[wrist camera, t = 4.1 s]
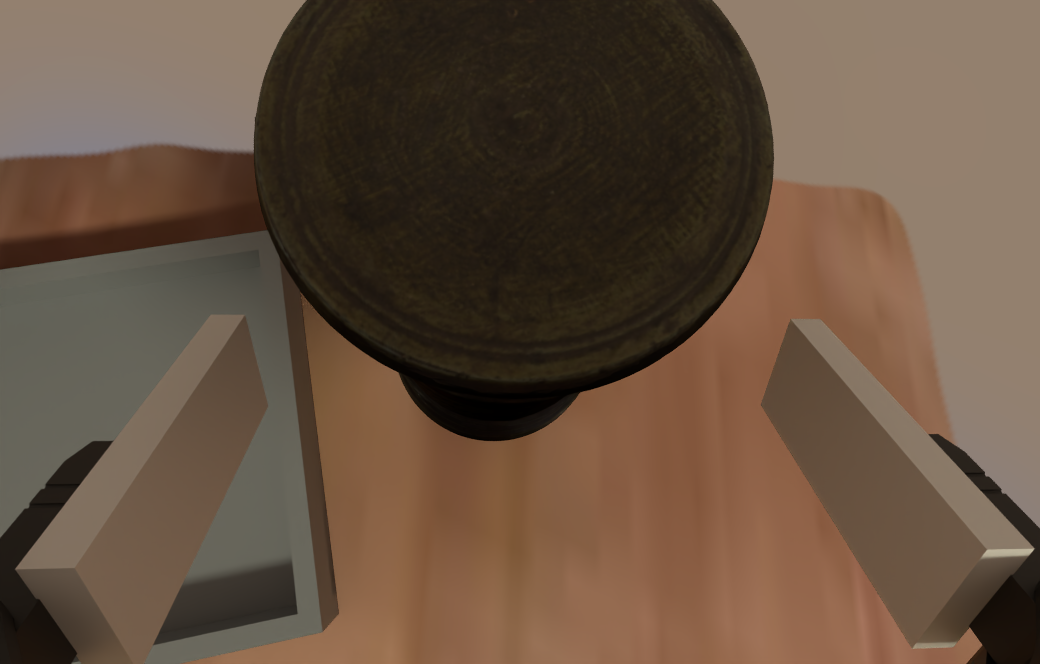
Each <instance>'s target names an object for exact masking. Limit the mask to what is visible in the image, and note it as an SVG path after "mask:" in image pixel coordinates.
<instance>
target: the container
mask: <svg viewBox="0 0 1040 664" xmlns="http://www.w3.org/2000/svg"><path fill="white" fill-rule="evenodd" d="M773 152H774V151H773V136H772V128H771V121H770V116H769V111H768V104H767V101H766V97H765V93H764V90H763V87H762V84H761V81H760V78H759V76H758V73H757V71H756V68H755V65H754V63H753V61H752V59H751V57H750V55H749V53H748V51H747V49H746V47H745V45H744V43H743V42H742V40H741V38H740V37H739V35H738V33H737V32H736V30H735V29H734V28H733V26H732V25H731V23H730V22H729V20H728V19H727V18H726V17H725V15H724V14H723V13H722V11H721V10H720V9H719V7H718V6H717V5H716V4H715V3H714V2H713V1H712V0H307V1H306V2H305V3H304V4H303V5H302V7H301V8H300V9H299V10H298V12H297V13H296V14H295V16H294V17H293V19H292V20H291V22H290V24H289V25H288V26H287V28H286V30H285V31H284V33H283V35H282V37H281V39H280V40H279V42H278V44H277V47H276V49H275V51H274V53H273V55H272V57H271V60H270V63H269V65H268V68H267V70H266V73H265V76H264V80H263V83H262V87H261V92H260V97H259V102H258V107H257V113H256V117H255V132H254V166H255V177H256V185H257V191H258V196H259V201H260V206H261V210H262V214H263V217H264V221H265V224H266V227H267V230H268V232H269V235H270V238H271V240H272V242H273V244H274V247H275V249H276V251H277V253H278V255H279V257H280V259H281V261H282V263H283V265H284V266H285V268H286V270H287V272H288V273H289V275H290V276H291V278H292V279H293V281H294V283H295V284H296V286H297V287H298V288H299V290H300V291H301V293H302V294H303V295H304V296H305V298H306V299H307V300H308V302H309V303H310V304H311V305H312V306H313V307H314V309H315V310H316V311H317V312H318V313H319V314H320V315H321V316H322V317H323V318H324V319H325V320H326V321H327V323H328V324H329V325H330V326H332V327H333V328H334V329H335V330H336V331H337V332H339V333H340V334H341V335H342V336H343V337H344V338H346V339H347V340H348V341H349V342H350V343H352V344H353V345H354V346H356V347H357V348H359V349H360V350H361V351H363V352H364V353H366V354H367V355H369V356H370V357H372V358H373V359H375V360H377V361H378V362H380V363H381V364H383V365H385V366H387V367H389V368H391V369H393V370H395V371H397V372H399V375H400V377H401V380H402V382H403V384H404V386H405V388H406V390H407V392H408V394H409V395H410V397H411V398H412V400H413V401H414V402H415V404H416V405H417V406H418V407H419V408H420V409H421V410H422V411H423V412H424V413H425V414H426V415H427V416H428V417H429V418H430V419H432V420H433V421H434V422H436V423H437V424H438V425H440V426H442V427H443V428H445V429H447V430H449V431H451V432H453V433H455V434H458V435H461V436H463V437H467V438H471V439H476V440H483V441H504V440H511V439H516V438H520V437H523V436H526V435H529V434H531V433H534V432H536V431H538V430H540V429H542V428H544V427H545V426H547V425H549V424H550V423H552V422H553V421H554V420H556V419H557V418H558V417H559V416H560V415H561V414H562V413H563V412H564V411H565V410H566V409H567V408H568V407H569V406H570V405H571V403H572V402H573V401H574V400H575V399H576V397H577V396H578V395H579V393H580V392H583V391H587V390H591V389H595V388H598V387H601V386H604V385H607V384H610V383H613V382H616V381H618V380H621V379H623V378H625V377H628V376H630V375H632V374H634V373H636V372H638V371H640V370H642V369H644V368H646V367H648V366H650V365H651V364H653V363H655V362H656V361H658V360H660V359H661V358H662V357H664V356H665V355H667V354H668V353H670V352H671V351H673V350H674V349H676V348H677V347H678V346H680V345H681V344H682V343H684V342H685V341H686V340H687V339H688V338H690V337H691V336H692V335H693V334H694V333H695V332H696V331H697V330H698V329H699V328H701V327H702V326H703V324H704V323H705V322H706V321H707V320H708V319H709V318H710V317H711V316H712V315H713V314H714V312H715V311H716V310H717V309H718V308H719V307H720V305H721V304H722V303H723V301H724V300H725V299H726V298H727V296H728V295H729V294H730V292H731V291H732V289H733V288H734V286H735V285H736V283H737V282H738V280H739V279H740V277H741V275H742V273H743V272H744V270H745V268H746V266H747V264H748V262H749V260H750V258H751V256H752V254H753V252H754V249H755V247H756V245H757V242H758V240H759V237H760V234H761V231H762V228H763V225H764V221H765V217H766V213H767V209H768V205H769V200H770V194H771V189H772V182H773V164H774V153H773Z"/></svg>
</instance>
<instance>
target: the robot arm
mask: <svg viewBox="0 0 1040 664" xmlns="http://www.w3.org/2000/svg"><path fill="white" fill-rule="evenodd" d="M761 406H762V408H763V409H764V411H765V412H766V414H767V416H768V417H769V419H770V420H771V422H772V424H773V425H774V427H775V429H776V430H777V432H778V433H779V435H780V437H781V438H782V440H783V441H784V443H785V445H786V446H787V448H788V449H789V451H790V453H791V454H792V456H793V458H794V459H795V461H796V462H797V464H798V466H799V467H800V469H801V470H802V472H803V474H804V475H805V477H806V478H807V480H808V482H809V483H810V485H811V487H812V488H813V490H814V491H815V493H816V495H817V496H818V498H819V499H820V501H821V503H822V504H823V506H824V507H825V509H826V511H827V512H828V514H829V516H830V517H831V519H832V520H833V522H834V524H835V525H836V527H837V528H838V530H839V532H840V533H841V535H842V536H843V538H844V540H845V541H846V543H847V545H848V546H849V548H850V549H851V551H852V553H853V554H854V556H855V557H856V559H857V561H858V562H859V564H860V565H861V567H862V569H863V570H864V572H865V574H866V575H867V577H868V578H869V580H870V582H871V583H872V585H873V586H874V588H875V590H876V591H877V593H878V594H879V596H880V598H881V599H882V601H883V603H884V604H885V606H886V607H887V609H888V611H889V612H890V614H891V615H892V617H893V619H894V620H895V622H896V623H897V625H898V627H899V628H900V630H901V632H902V633H903V635H904V636H905V638H906V640H907V641H908V643H909V644H910V646H911V648H912V649H913V648H945V647H954V646H955V644H956V643H957V642H958V641H959V640H960V638H961V637H962V636H963V635H964V633H965V632H966V631H967V630H968V629H969V627H970V628H971V630H972V631H973V632H974V634H975V635H976V637H977V638H978V639H979V641H980V642H981V643H982V647H981V648H980V649H979V650H978V651H977V652H976V653H975V655H974V656H973V657H972V658H971V659H970V660H969V661H968V663H967V664H1040V528H1039V527H1038V526H1037V525H1036V524H1035V523H1034V522H1033V521H1032V520H1031V519H1030V518H1029V517H1028V516H1027V515H1026V514H1025V513H1024V512H1023V511H1022V510H1021V509H1020V508H1019V507H1018V506H1017V505H1016V504H1015V503H1014V502H1013V501H1012V500H1011V499H1010V498H1009V497H1008V496H1007V495H1006V494H1002V492H1001V488H1000V487H999V486H998V485H997V484H995V482H993V480H992V479H991V478H990V477H986V476H985V472H984V471H983V470H982V469H981V468H980V467H979V466H978V465H977V464H976V463H975V462H974V461H973V460H972V459H971V458H970V457H969V456H968V455H967V453H965V452H964V451H963V450H961V449H960V448H958V447H957V446H955V445H954V444H952V443H951V442H949V441H948V440H946V439H945V438H943V437H942V436H940V435H939V434H927V433H926V432H925V431H924V430H923V429H922V428H921V426H920V425H919V424H918V423H917V422H916V421H915V420H914V419H913V418H912V417H911V416H910V415H909V414H908V413H907V411H906V410H905V409H904V408H903V407H902V406H901V405H900V404H899V403H898V402H897V401H896V400H895V399H894V398H893V396H892V395H891V394H890V393H889V392H888V391H887V390H886V389H885V388H884V387H883V386H882V385H881V384H880V383H879V381H878V380H877V379H876V378H875V377H874V376H873V375H872V374H871V373H870V372H869V371H868V370H867V369H866V368H865V366H864V365H863V364H862V363H861V362H860V361H859V360H858V359H857V358H856V357H855V356H854V355H853V354H852V353H851V351H850V350H849V349H848V348H847V347H846V346H845V345H844V344H843V343H842V342H841V341H840V340H839V339H838V338H837V336H836V335H835V334H834V333H833V332H832V331H831V330H830V329H829V328H828V327H827V326H826V325H825V324H824V323H823V321H822V320H821V319H790V322H789V325H788V328H787V331H786V334H785V337H784V339H783V342H782V345H781V348H780V351H779V354H778V357H777V360H776V362H775V365H774V368H773V371H772V374H771V377H770V380H769V383H768V385H767V388H766V391H765V394H764V397H763V400H762V403H761ZM267 408H268V403H267V399H266V395H265V391H264V387H263V383H262V379H261V375H260V371H259V368H258V364H257V360H256V356H255V352H254V348H253V344H252V340H251V336H250V332H249V328H248V324H247V321H246V317H245V315H210V316H209V318H208V319H207V320H206V322H205V323H204V324H203V326H202V327H201V328H200V329H199V331H198V332H197V333H196V335H195V336H194V337H193V339H192V340H191V341H190V342H189V344H188V345H187V346H186V348H185V349H184V350H183V352H182V353H181V354H180V355H179V357H178V358H177V359H176V361H175V362H174V363H173V365H172V366H171V367H170V368H169V370H168V371H167V372H166V374H165V375H164V376H163V378H162V379H161V380H160V381H159V383H158V384H157V385H156V387H155V388H154V389H153V391H152V392H151V393H150V394H149V396H148V397H147V398H146V400H145V401H144V402H143V404H142V405H141V406H140V407H139V409H138V410H137V411H136V413H135V414H134V415H133V417H132V418H131V419H130V420H129V422H128V423H127V424H126V426H125V427H124V428H123V430H122V431H121V432H120V433H119V435H118V436H117V437H116V439H115V440H114V441H92V442H91V443H89V444H88V445H86V446H85V447H83V448H82V449H81V450H79V451H78V452H76V453H75V454H74V455H72V456H71V457H69V458H68V459H67V460H65V461H64V462H63V463H62V465H61V466H60V467H59V468H58V469H57V471H56V472H55V473H54V474H53V475H52V477H51V478H50V479H49V480H48V481H47V483H46V484H45V488H44V489H41V490H40V491H39V492H38V493H37V494H36V496H35V497H34V498H33V499H32V500H31V502H30V503H29V508H25V509H24V510H23V511H22V512H21V514H20V515H19V516H18V517H17V518H16V520H15V521H14V522H13V523H12V524H11V526H10V527H9V528H8V529H7V530H6V532H5V533H4V534H3V535H2V536H1V538H0V664H71V663H72V662H73V660H74V658H75V657H76V656H77V658H78V659H79V660H80V662H81V663H82V664H144V662H145V660H146V658H147V656H148V654H149V652H150V650H151V648H152V646H153V644H154V642H155V639H156V637H157V635H158V633H159V631H160V629H161V627H162V625H163V623H164V621H165V619H166V617H167V615H168V613H169V611H170V608H171V606H172V604H173V602H174V600H175V598H176V596H177V594H178V592H179V590H180V588H181V586H182V584H183V582H184V579H185V577H186V575H187V573H188V571H189V569H190V567H191V565H192V563H193V561H194V559H195V557H196V555H197V553H198V550H199V548H200V546H201V544H202V542H203V540H204V538H205V536H206V534H207V532H208V530H209V528H210V526H211V524H212V522H213V519H214V517H215V515H216V513H217V511H218V509H219V507H220V505H221V503H222V501H223V499H224V497H225V495H226V493H227V490H228V488H229V486H230V484H231V482H232V480H233V478H234V476H235V474H236V472H237V470H238V468H239V466H240V464H241V462H242V459H243V457H244V455H245V453H246V451H247V449H248V447H249V445H250V443H251V441H252V439H253V437H254V435H255V433H256V430H257V428H258V426H259V424H260V422H261V420H262V418H263V416H264V414H265V412H266V410H267Z"/></svg>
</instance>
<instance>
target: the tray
mask: <svg viewBox="0 0 1040 664" xmlns="http://www.w3.org/2000/svg"><path fill="white" fill-rule="evenodd" d="M210 315H245V317H246V321H247V324H248V328H249V332H250V336H251V340H252V344H253V348H254V352H255V356H256V360H257V364H258V368H259V371H260V375H261V379H262V383H263V387H264V391H265V395H266V399H267V403H268V408H267V410H266V412H265V414H264V416H263V418H262V420H261V422H260V424H259V426H258V428H257V430H256V433H255V435H254V437H253V439H252V441H251V443H250V445H249V447H248V449H247V451H246V453H245V455H244V457H243V459H242V462H241V464H240V466H239V468H238V470H237V472H236V474H235V476H234V478H233V480H232V482H231V484H230V486H229V488H228V490H227V493H226V495H225V497H224V499H223V501H222V503H221V505H220V507H219V509H218V511H217V513H216V515H215V517H214V519H213V522H212V524H211V526H210V528H209V530H208V532H207V534H206V536H205V538H204V540H203V542H202V544H201V546H200V548H199V550H198V553H197V555H196V557H195V559H194V561H193V563H192V565H191V567H190V569H189V571H188V573H187V575H186V577H185V579H184V582H183V584H182V586H181V588H180V590H179V592H178V594H177V596H176V598H175V600H174V602H173V604H172V606H171V608H170V611H169V613H168V615H167V617H166V619H165V621H164V623H163V625H162V627H161V629H160V631H159V633H158V635H157V637H156V639H155V642H154V644H153V646H152V648H151V650H150V652H149V654H148V656H147V658H146V660H145V662H144V664H180V663H185V662H189V661H194V660H198V659H203V658H207V657H212V656H217V655H221V654H226V653H230V652H235V651H239V650H244V649H248V648H253V647H257V646H262V645H266V644H271V643H276V642H280V641H285V640H289V639H294V638H298V637H303V636H307V635H312V634H316V633H321V632H323V631H324V630H325V629H326V628H327V626H328V625H329V624H330V623H331V622H332V621H333V620H334V618H335V617H336V616H337V615H338V614H339V611H338V603H337V595H336V587H335V578H334V570H333V562H332V553H331V545H330V537H329V529H328V520H327V512H326V504H325V495H324V487H323V479H322V470H321V462H320V454H319V446H318V437H317V429H316V421H315V412H314V404H313V396H312V388H311V379H310V371H309V363H308V354H307V346H306V338H305V330H304V321H303V313H302V305H301V296H300V290H299V288H298V287H297V286H296V284H295V283H294V281H293V279H292V278H291V276H290V275H289V273H288V272H287V270H286V268H285V266H284V265H283V263H282V261H281V259H280V257H279V255H278V253H277V251H276V249H275V247H274V244H273V242H272V240H271V238H270V235H269V232H268V230H265V231H258V232H252V233H245V234H238V235H231V236H225V237H218V238H211V239H204V240H198V241H191V242H184V243H177V244H171V245H164V246H157V247H150V248H144V249H137V250H130V251H123V252H117V253H110V254H103V255H96V256H90V257H83V258H76V259H69V260H63V261H56V262H49V263H42V264H36V265H29V266H22V267H15V268H9V269H2V270H0V538H1V536H2V535H3V534H4V533H5V532H6V530H7V529H8V528H9V527H10V526H11V524H12V523H13V522H14V521H15V520H16V518H17V517H18V516H19V515H20V514H21V512H22V511H23V510H24V509H25V508H29V503H30V502H31V500H32V499H33V498H34V497H35V496H36V494H37V493H38V492H39V491H40V490H41V489H44V488H45V484H46V483H47V481H48V480H49V479H50V478H51V477H52V475H53V474H54V473H55V472H56V471H57V469H58V468H59V467H60V466H61V465H62V463H63V462H64V461H65V460H67V459H68V458H69V457H71V456H72V455H74V454H75V453H76V452H78V451H79V450H81V449H82V448H83V447H85V446H86V445H88V444H89V443H91V442H92V441H114V440H115V439H116V437H117V436H118V435H119V433H120V432H121V431H122V430H123V428H124V427H125V426H126V424H127V423H128V422H129V420H130V419H131V418H132V417H133V415H134V414H135V413H136V411H137V410H138V409H139V407H140V406H141V405H142V404H143V402H144V401H145V400H146V398H147V397H148V396H149V394H150V393H151V392H152V391H153V389H154V388H155V387H156V385H157V384H158V383H159V381H160V380H161V379H162V378H163V376H164V375H165V374H166V372H167V371H168V370H169V368H170V367H171V366H172V365H173V363H174V362H175V361H176V359H177V358H178V357H179V355H180V354H181V353H182V352H183V350H184V349H185V348H186V346H187V345H188V344H189V342H190V341H191V340H192V339H193V337H194V336H195V335H196V333H197V332H198V331H199V329H200V328H201V327H202V326H203V324H204V323H205V322H206V320H207V319H208V318H209V316H210ZM71 664H82V663H81V662H80V660H79V659H78V658H77V656H76V657H75V658H74V660H73V662H72V663H71Z"/></svg>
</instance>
